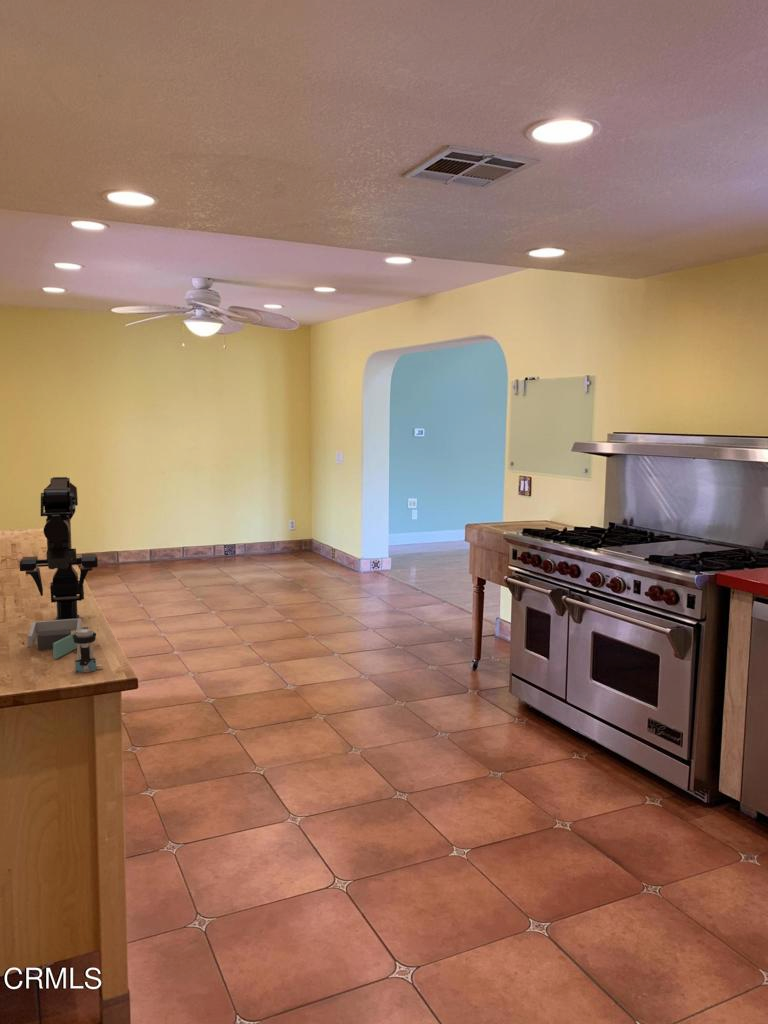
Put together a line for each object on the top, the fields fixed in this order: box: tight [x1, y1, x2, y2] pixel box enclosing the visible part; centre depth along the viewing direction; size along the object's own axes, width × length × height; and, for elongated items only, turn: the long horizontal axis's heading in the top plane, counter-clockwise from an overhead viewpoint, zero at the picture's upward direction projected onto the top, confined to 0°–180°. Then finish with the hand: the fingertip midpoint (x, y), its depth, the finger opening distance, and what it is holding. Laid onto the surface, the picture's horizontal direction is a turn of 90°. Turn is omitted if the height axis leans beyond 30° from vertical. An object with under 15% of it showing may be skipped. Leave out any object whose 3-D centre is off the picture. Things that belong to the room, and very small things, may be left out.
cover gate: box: [52, 631, 81, 660], centre depth 200 cm, size 1×13×4 cm, turn 170°
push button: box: [73, 628, 104, 674], centre depth 186 cm, size 7×5×10 cm
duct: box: [27, 617, 89, 648], centre depth 212 cm, size 17×15×4 cm
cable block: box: [36, 629, 72, 651], centre depth 205 cm, size 5×8×4 cm, turn 110°
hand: (60, 594), depth 202 cm, fingers open, 9 cm apart
